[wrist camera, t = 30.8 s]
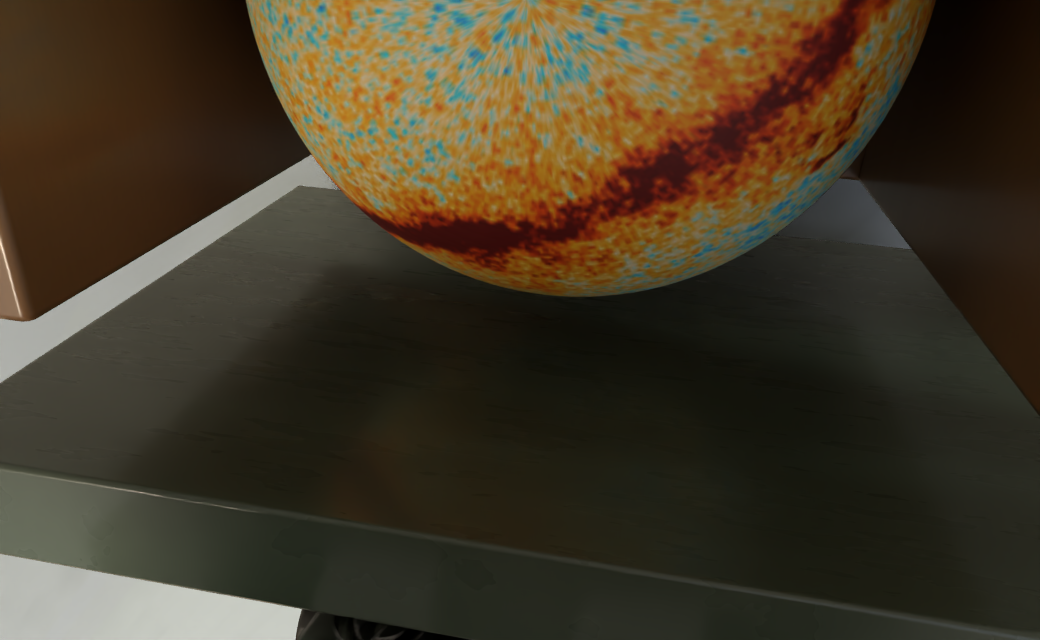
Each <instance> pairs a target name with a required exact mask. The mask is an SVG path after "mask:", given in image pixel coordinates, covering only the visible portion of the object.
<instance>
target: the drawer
mask: <svg viewBox="0 0 1040 640" xmlns="http://www.w3.org/2000/svg"><path fill="white" fill-rule="evenodd" d="M270 82H271V81H270V80H269V76H268V73H267V71H266V68H265V66H264V63H263V60H262V57H261V55H260V52H259V49H258V46H257V42H256V39H255V36H254V33H253V29H252V25H251V21H250V17H249V13H248V8H247V4H246V0H0V319H8V320H15V321H22V322H23V321H31V320H34V319H36V318H38V317H40V316H42V315H43V314H45V313H47V312H48V311H50V310H52V309H53V308H55V307H57V306H58V305H60V304H62V303H63V302H65V301H67V300H68V299H70V298H72V297H73V296H75V295H77V294H78V293H80V292H82V291H83V290H85V289H87V288H88V287H90V286H92V285H93V284H95V283H97V282H98V281H100V280H102V279H103V278H105V277H107V276H108V275H110V274H112V273H114V272H115V271H117V270H119V269H120V268H122V267H124V266H125V265H127V264H129V263H130V262H132V261H134V260H135V259H137V258H139V257H140V256H142V255H144V254H145V253H147V252H149V251H150V250H152V249H154V248H155V247H157V246H159V245H160V244H162V243H164V242H165V241H167V240H169V239H170V238H172V237H174V236H175V235H177V234H179V233H180V232H182V231H184V230H186V229H187V228H189V227H191V226H192V225H194V224H196V223H197V222H199V221H201V220H202V219H204V218H206V217H207V216H209V215H211V214H212V213H214V212H216V211H217V210H219V209H221V208H222V207H224V206H226V205H227V204H229V203H231V202H232V201H234V200H236V199H237V198H239V197H241V196H242V195H244V194H246V193H247V192H249V191H251V190H252V189H254V188H256V187H258V186H259V185H261V184H263V183H264V182H266V181H268V180H269V179H271V178H273V177H274V176H276V175H278V174H279V173H281V172H283V171H284V170H286V169H288V168H289V167H291V166H293V165H294V164H296V163H298V162H299V161H301V160H303V159H304V158H306V157H308V156H309V155H311V153H310V151H309V150H308V148H307V147H306V145H305V144H304V142H303V141H302V139H301V138H300V136H299V135H298V133H297V131H296V130H295V128H294V126H293V125H292V123H291V121H290V119H289V118H288V116H287V114H286V112H285V110H284V108H283V106H282V104H281V102H280V100H279V98H278V96H276V95H277V94H276V92H275V91H274V90H273V89H274V87H273V86H271V85H272V83H271V84H270ZM270 86H271V87H270ZM272 87H273V88H272ZM272 91H273V92H272ZM273 93H275V94H274V95H273ZM274 96H275V97H274ZM839 179H850V180H860V182H861V183H862V185H863V186H864V187H865V189H866V190H867V191H868V193H869V194H870V195H871V196H872V198H873V199H874V200H875V202H876V203H877V204H878V206H879V207H880V208H881V210H882V211H883V212H884V213H885V215H886V216H887V217H888V219H889V220H890V221H891V223H892V224H893V225H894V227H895V228H896V229H897V230H898V232H899V233H900V234H901V236H902V237H903V238H904V240H905V241H906V242H907V244H908V245H909V246H910V248H911V249H903V248H893V247H884V246H874V245H864V244H855V243H845V242H835V241H826V240H816V239H807V238H797V237H787V236H778V235H773V236H772V237H770V238H769V239H767V240H766V241H764V242H763V243H761V244H759V245H758V246H756V247H754V248H753V249H751V250H749V251H748V252H746V253H744V254H742V255H740V256H738V257H737V258H735V259H733V260H731V261H729V262H727V263H724V264H722V265H720V266H718V267H716V268H714V269H711V270H709V271H707V272H704V273H702V274H699V275H696V276H694V277H691V278H688V279H685V280H682V281H679V282H676V283H673V284H669V285H665V286H662V287H658V288H653V289H649V290H644V291H639V292H633V293H626V294H619V295H609V296H593V297H567V296H552V295H542V294H535V293H528V292H523V291H517V290H513V289H508V288H504V287H500V286H496V285H493V284H489V283H486V282H483V281H480V280H477V279H474V278H471V277H469V276H466V275H463V274H461V273H459V272H456V271H454V270H452V269H449V268H447V267H445V266H443V265H441V264H439V263H437V262H435V261H433V260H431V259H429V258H427V257H425V256H423V255H422V254H420V253H418V252H417V251H415V250H413V249H412V248H410V247H408V246H407V245H405V244H404V243H402V242H401V241H399V240H398V239H396V238H395V237H394V236H392V235H391V234H389V233H388V232H387V231H385V230H384V229H383V228H382V227H380V226H379V225H378V224H376V223H375V222H374V221H373V220H372V219H371V218H369V217H368V216H367V215H366V214H365V213H364V212H363V211H361V210H360V209H359V208H358V207H357V206H356V205H355V204H354V203H353V202H352V201H351V200H350V199H349V198H348V197H347V196H346V195H345V194H344V193H343V192H342V191H341V190H335V189H326V188H316V187H306V186H298V187H296V188H295V189H293V190H292V191H290V192H289V193H287V194H286V195H284V196H283V197H281V198H280V199H278V200H276V201H275V202H273V203H272V204H270V205H269V206H267V207H266V208H264V209H263V210H261V211H260V212H258V213H257V214H255V215H254V216H252V217H251V218H249V219H248V220H246V221H245V222H243V223H242V224H240V225H239V226H237V227H236V228H234V229H233V230H231V231H230V232H228V233H227V234H225V235H224V236H222V237H221V238H219V239H217V240H216V241H214V242H213V243H211V244H210V245H208V246H207V247H205V248H204V249H202V250H201V251H199V252H198V253H196V254H195V255H193V256H192V257H190V258H189V259H187V260H186V261H184V262H183V263H181V264H180V265H178V266H177V267H175V268H174V269H172V270H171V271H169V272H168V273H166V274H165V275H163V276H162V277H160V278H158V279H157V280H155V281H154V282H152V283H151V284H149V285H148V286H146V287H145V288H143V289H142V290H140V291H139V292H137V293H136V294H134V295H133V296H131V297H130V298H128V299H127V300H125V301H124V302H122V303H121V304H119V305H118V306H116V307H115V308H113V309H112V310H110V311H109V312H107V313H106V314H104V315H103V316H101V317H99V318H98V319H96V320H95V321H93V322H92V323H90V324H89V325H87V326H86V327H84V328H83V329H81V330H80V331H78V332H77V333H75V334H74V335H72V336H71V337H69V338H68V339H66V340H65V341H63V342H62V343H60V344H59V345H57V346H56V347H54V348H53V349H51V350H50V351H48V352H47V353H45V354H44V355H42V356H40V357H39V358H37V359H36V360H34V361H33V362H31V363H30V364H28V365H27V366H25V367H24V368H22V369H21V370H19V371H18V372H16V373H15V374H13V375H12V376H10V377H9V378H7V379H6V380H4V381H3V382H1V383H0V554H4V555H10V556H15V557H21V558H26V559H31V560H37V561H42V562H48V563H53V564H59V565H64V566H70V567H75V568H81V569H86V570H92V571H97V572H103V573H108V574H113V575H119V576H124V577H130V578H135V579H141V580H146V581H152V582H157V583H163V584H168V585H174V586H179V587H185V588H190V589H195V590H201V591H206V592H212V593H217V594H223V595H228V596H234V597H239V598H245V599H250V600H256V601H261V602H266V603H272V604H277V605H283V606H288V607H294V608H299V609H302V611H301V615H300V618H299V622H298V627H297V633H296V639H297V638H298V637H299V635H300V634H301V633H302V631H303V630H304V629H305V627H306V626H307V625H308V623H309V622H310V621H311V619H312V618H313V617H314V615H315V614H316V612H321V613H327V614H332V615H338V616H343V617H348V618H354V619H359V620H365V621H370V622H376V623H381V624H387V625H392V626H398V627H403V628H409V629H414V630H420V631H425V632H430V633H436V634H441V635H447V636H452V637H458V638H463V639H469V640H1040V0H936V2H935V5H934V9H933V12H932V16H931V19H930V22H929V25H928V28H927V31H926V34H925V36H924V39H923V42H922V44H921V47H920V49H919V52H918V54H917V57H916V59H915V61H914V64H913V66H912V68H911V70H910V73H909V75H908V77H907V79H906V81H905V83H904V85H903V87H902V89H901V91H900V92H899V94H898V96H897V98H896V100H895V101H894V103H893V105H892V107H891V108H890V110H889V112H888V113H887V115H886V117H885V118H884V120H883V122H882V123H881V125H880V126H879V127H878V129H877V130H876V132H875V133H874V135H873V136H872V138H871V139H870V140H869V142H868V143H867V145H866V146H865V147H864V149H863V150H862V151H861V153H860V154H859V155H858V156H857V158H856V159H855V160H854V161H853V163H852V164H851V165H850V166H849V167H848V168H847V170H846V171H845V172H844V173H843V174H842V175H841V176H840V178H839Z"/></svg>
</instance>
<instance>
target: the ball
mask: <svg viewBox="0 0 1040 640" xmlns="http://www.w3.org/2000/svg"><path fill="white" fill-rule="evenodd" d="M935 2H936V0H246V4H247V8H248V13H249V17H250V21H251V25H252V29H253V33H254V36H255V39H256V42H257V46H258V49H259V52H260V55H261V57H262V60H263V63H264V66H265V68H266V71H267V73H268V76H269V80H270V81H271V82H270V84H271V83H272V85H271V86H273V87H274V89H273V90H274V91H275V92H276V94H277V95H276V96H278V98H279V100H280V102H281V104H282V106H283V108H284V110H285V112H286V114H287V116H288V118H289V119H290V121H291V123H292V125H293V126H294V128H295V130H296V131H297V133H298V135H299V136H300V138H301V139H302V141H303V142H304V144H305V145H306V147H307V148H308V150H309V151H310V153H311V154H312V155H313V157H314V158H315V160H316V161H317V162H318V164H319V165H320V166H321V167H322V169H323V170H324V171H325V173H326V174H327V175H328V176H329V177H330V178H331V180H332V181H333V182H334V183H335V184H336V185H337V186H338V188H339V189H340V190H341V191H342V192H343V193H344V194H345V195H346V196H347V197H348V198H349V199H350V200H351V201H352V202H353V203H354V204H355V205H356V206H357V207H358V208H359V209H360V210H361V211H363V212H364V213H365V214H366V215H367V216H368V217H369V218H371V219H372V220H373V221H374V222H375V223H376V224H378V225H379V226H380V227H382V228H383V229H384V230H385V231H387V232H388V233H389V234H391V235H392V236H394V237H395V238H396V239H398V240H399V241H401V242H402V243H404V244H405V245H407V246H408V247H410V248H412V249H413V250H415V251H417V252H418V253H420V254H422V255H423V256H425V257H427V258H429V259H431V260H433V261H435V262H437V263H439V264H441V265H443V266H445V267H447V268H449V269H452V270H454V271H456V272H459V273H461V274H463V275H466V276H469V277H471V278H474V279H477V280H480V281H483V282H486V283H489V284H493V285H496V286H500V287H504V288H508V289H513V290H517V291H523V292H528V293H535V294H542V295H552V296H567V297H593V296H609V295H619V294H626V293H633V292H639V291H644V290H649V289H653V288H658V287H662V286H665V285H669V284H673V283H676V282H679V281H682V280H685V279H688V278H691V277H694V276H696V275H699V274H702V273H704V272H707V271H709V270H711V269H714V268H716V267H718V266H720V265H722V264H724V263H727V262H729V261H731V260H733V259H735V258H737V257H738V256H740V255H742V254H744V253H746V252H748V251H749V250H751V249H753V248H754V247H756V246H758V245H759V244H761V243H763V242H764V241H766V240H767V239H769V238H770V237H772V236H773V235H775V234H776V233H777V232H779V231H780V230H782V229H783V228H784V227H786V226H787V225H788V224H790V223H791V222H792V221H793V220H795V219H796V218H797V217H798V216H800V215H801V214H802V213H803V212H804V211H806V210H807V209H808V208H809V207H810V206H811V205H812V204H814V203H815V202H816V201H817V200H818V199H819V198H820V197H821V196H822V195H823V194H824V193H825V192H826V191H827V190H828V189H829V188H830V187H831V186H832V185H833V184H834V183H835V182H836V181H837V180H838V179H839V178H840V176H841V175H842V174H843V173H844V172H845V171H846V170H847V168H848V167H849V166H850V165H851V164H852V163H853V161H854V160H855V159H856V158H857V156H858V155H859V154H860V153H861V151H862V150H863V149H864V147H865V146H866V145H867V143H868V142H869V140H870V139H871V138H872V136H873V135H874V133H875V132H876V130H877V129H878V127H879V126H880V125H881V123H882V122H883V120H884V118H885V117H886V115H887V113H888V112H889V110H890V108H891V107H892V105H893V103H894V101H895V100H896V98H897V96H898V94H899V92H900V91H901V89H902V87H903V85H904V83H905V81H906V79H907V77H908V75H909V73H910V70H911V68H912V66H913V64H914V61H915V59H916V57H917V54H918V52H919V49H920V47H921V44H922V42H923V39H924V36H925V34H926V31H927V28H928V25H929V22H930V19H931V16H932V12H933V9H934V5H935ZM271 86H270V87H271ZM273 87H272V88H273ZM272 92H273V91H272ZM274 94H275V93H273V95H274ZM274 97H275V96H274Z"/></svg>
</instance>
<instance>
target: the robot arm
mask: <svg viewBox="0 0 1040 640" xmlns="http://www.w3.org/2000/svg"><path fill="white" fill-rule="evenodd" d="M296 640H469V639H463V638H458V637H452V636H447V635H441V634H436V633H430V632H425V631H420V630H414V629H409V628H403V627H398V626H392V625H387V624H381V623H376V622H370V621H365V620H359V619H354V618H348V617H343V616H338V615H332V614H327V613H321V612H316V614H315V615H314V617H313V618H312V619H311V621H310V622H309V623H308V625H307V626H306V627H305V629H304V630H303V631H302V633H301V634H300V635H299V637H298V638H297V639H296Z"/></svg>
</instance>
